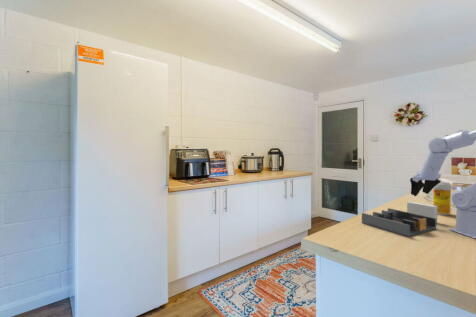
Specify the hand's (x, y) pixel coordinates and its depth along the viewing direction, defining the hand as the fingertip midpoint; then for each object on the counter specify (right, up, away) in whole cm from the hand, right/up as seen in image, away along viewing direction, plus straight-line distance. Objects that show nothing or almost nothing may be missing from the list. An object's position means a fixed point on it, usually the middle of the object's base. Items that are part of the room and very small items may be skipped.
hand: (419, 193), depth 103 cm
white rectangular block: (0, -11, -1) cm, 11 cm away
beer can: (+16, -11, +7) cm, 21 cm away
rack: (-16, -11, -9) cm, 21 cm away
